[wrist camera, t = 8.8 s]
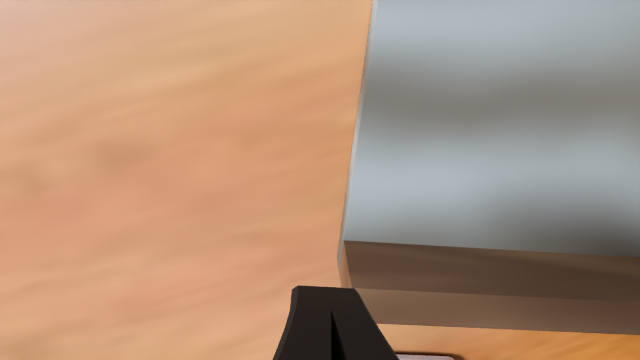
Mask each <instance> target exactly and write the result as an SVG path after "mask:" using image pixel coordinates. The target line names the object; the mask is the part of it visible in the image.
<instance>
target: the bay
mask: <svg viewBox="0 0 640 360" xmlns="http://www.w3.org/2000/svg"><path fill="white" fill-rule="evenodd" d="M337 260H338V268H339V275H340V282H341V288H355V290H356V291H357V292H358V293H359V295H360V297H361V298H362V300H363V302H364V304H365V306H366V308H367V309H368V311H369V313H370V315H371V316H372V318H373V320H374V321H375V323H377V324H400V325H423V326H446V327H468V328H491V329H514V330H537V331H559V332H582V333H605V334H628V335H640V0H373V4H372V11H371V18H370V25H369V32H368V39H367V47H366V54H365V61H364V68H363V75H362V82H361V90H360V97H359V104H358V111H357V118H356V125H355V133H354V140H353V147H352V154H351V161H350V168H349V176H348V183H347V190H346V197H345V204H344V211H343V219H342V226H341V233H340V240H339V247H338V254H337Z"/></svg>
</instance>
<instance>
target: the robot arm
mask: <svg viewBox="0 0 640 360" xmlns="http://www.w3.org/2000/svg"><path fill="white" fill-rule="evenodd" d="M273 360H454V359H453V358H452V357H448V356H424V355H398V354H395V352H394V351H393V349H392V348H391V346H390V345H389V344H388V342H387V340H386V339H385V337H384V336H383V334H382V333H381V331H380V329H379V328H378V326H377V325H376V323H375V321H374V320H373V318H372V316H371V315H370V313H369V311H368V309H367V308H366V306H365V304H364V302H363V300H362V298H361V297H360V295H359V293H358V292H357V291H356V290H355V288H336V287H316V286H297V287H295V288H294V289H292V295H291V305H290V312H289V316H288V319H287V323H286V326H285V329H284V332H283V334H282V337H281V340H280V342H279V345H278V348H277V350H276V353H275V355H274V358H273Z"/></svg>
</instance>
